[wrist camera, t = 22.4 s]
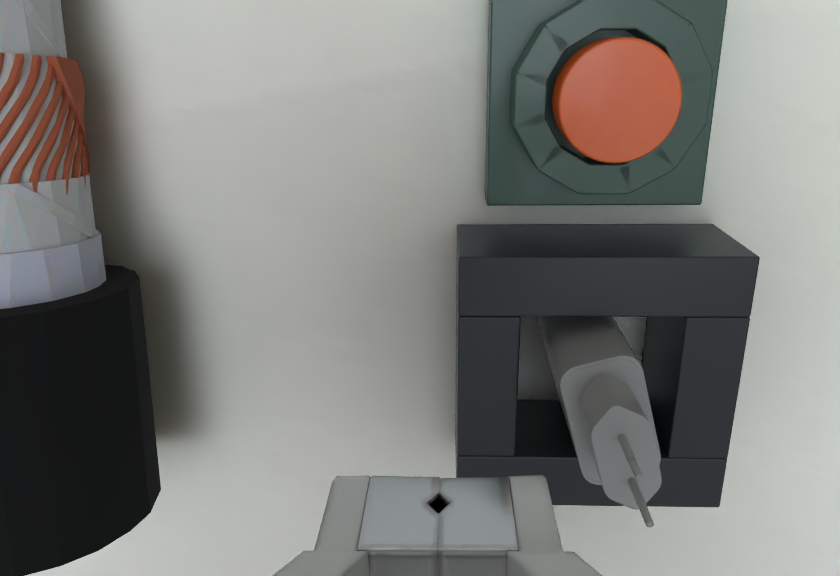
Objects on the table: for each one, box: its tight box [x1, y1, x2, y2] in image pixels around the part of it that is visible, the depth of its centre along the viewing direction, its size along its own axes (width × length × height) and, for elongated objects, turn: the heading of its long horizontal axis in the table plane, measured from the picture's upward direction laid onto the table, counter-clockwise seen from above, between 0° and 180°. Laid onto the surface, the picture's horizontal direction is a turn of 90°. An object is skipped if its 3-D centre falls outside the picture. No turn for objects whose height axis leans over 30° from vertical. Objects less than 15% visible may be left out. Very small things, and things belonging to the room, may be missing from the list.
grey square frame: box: [455, 224, 759, 507], centre depth 31 cm, size 12×12×5 cm
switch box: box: [485, 0, 727, 205], centre depth 28 cm, size 9×9×4 cm
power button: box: [552, 37, 682, 163], centre depth 26 cm, size 4×4×2 cm
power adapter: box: [538, 316, 662, 527], centre depth 28 cm, size 3×5×12 cm, turn 17°
